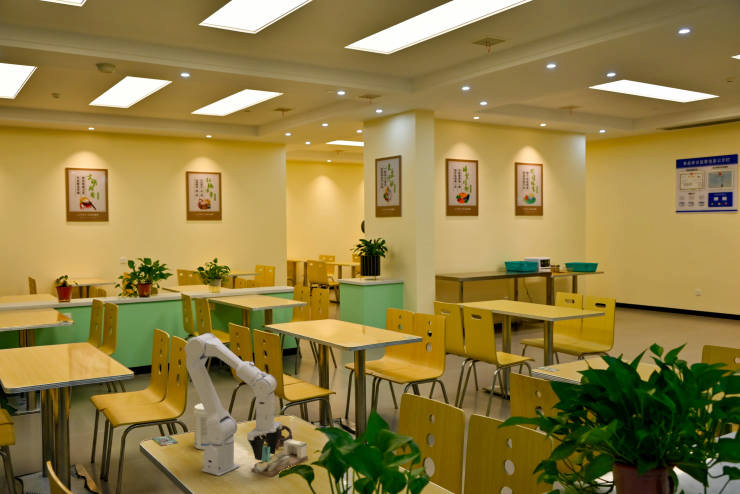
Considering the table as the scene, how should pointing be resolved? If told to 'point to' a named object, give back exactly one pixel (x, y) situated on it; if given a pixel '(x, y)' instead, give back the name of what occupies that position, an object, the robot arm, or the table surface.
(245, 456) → the table surface
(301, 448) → the socket block
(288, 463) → the channel board
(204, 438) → the supplement tub
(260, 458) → the robot arm
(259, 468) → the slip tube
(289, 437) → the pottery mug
